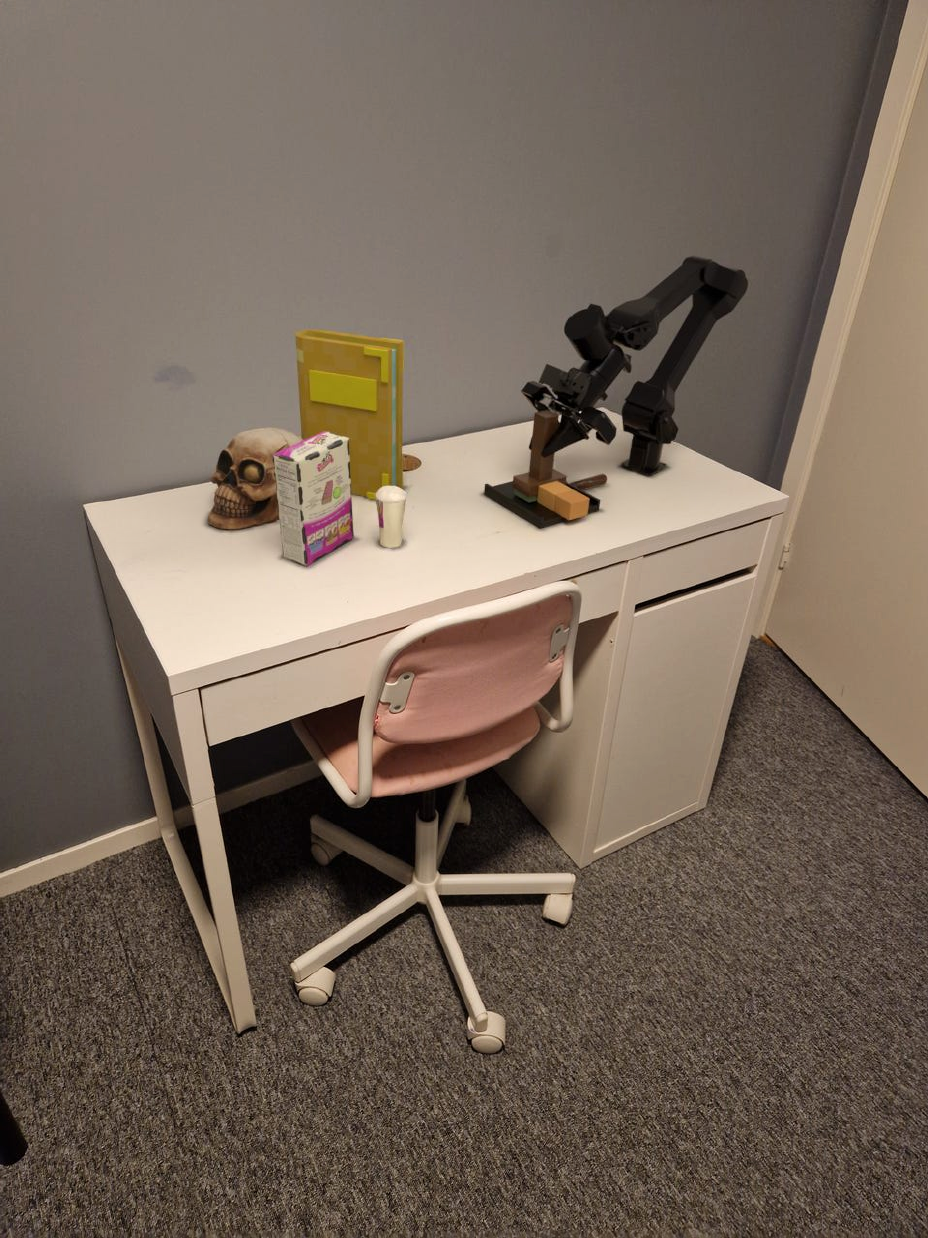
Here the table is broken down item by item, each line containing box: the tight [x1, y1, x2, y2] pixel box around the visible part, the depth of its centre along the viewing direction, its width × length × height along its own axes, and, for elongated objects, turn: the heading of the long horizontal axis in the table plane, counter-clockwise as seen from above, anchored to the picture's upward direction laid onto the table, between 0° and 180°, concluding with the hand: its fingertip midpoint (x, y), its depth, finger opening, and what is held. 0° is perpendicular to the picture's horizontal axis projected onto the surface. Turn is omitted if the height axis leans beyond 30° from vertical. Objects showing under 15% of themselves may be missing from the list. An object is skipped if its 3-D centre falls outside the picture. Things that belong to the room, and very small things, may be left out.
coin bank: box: [207, 427, 303, 530], centre depth 136 cm, size 16×17×13 cm
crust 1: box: [537, 481, 573, 511], centre depth 141 cm, size 4×4×3 cm
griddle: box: [483, 473, 608, 529], centre depth 147 cm, size 22×15×2 cm
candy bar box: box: [273, 431, 355, 567], centre depth 123 cm, size 11×5×16 cm, turn 148°
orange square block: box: [553, 490, 589, 521], centre depth 138 cm, size 4×4×3 cm
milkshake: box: [375, 485, 412, 549], centre depth 127 cm, size 4×5×10 cm
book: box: [295, 328, 405, 501], centre depth 140 cm, size 17×7×25 cm, turn 71°
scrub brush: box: [512, 410, 568, 503], centre depth 141 cm, size 8×4×14 cm, turn 125°
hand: (536, 452), depth 140 cm, fingers closed on scrub brush, 3 cm apart
